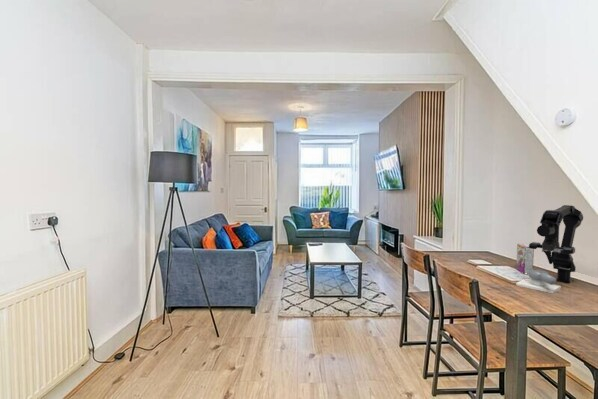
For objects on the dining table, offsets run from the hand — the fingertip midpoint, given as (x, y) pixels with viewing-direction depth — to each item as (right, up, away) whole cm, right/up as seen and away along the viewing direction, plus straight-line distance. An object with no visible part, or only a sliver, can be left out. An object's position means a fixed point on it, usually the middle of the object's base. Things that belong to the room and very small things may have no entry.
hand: (550, 263), depth 175 cm
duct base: (-8, -12, -1) cm, 14 cm away
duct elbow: (-8, -7, -5) cm, 12 cm away
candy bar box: (+4, -10, +27) cm, 29 cm away
